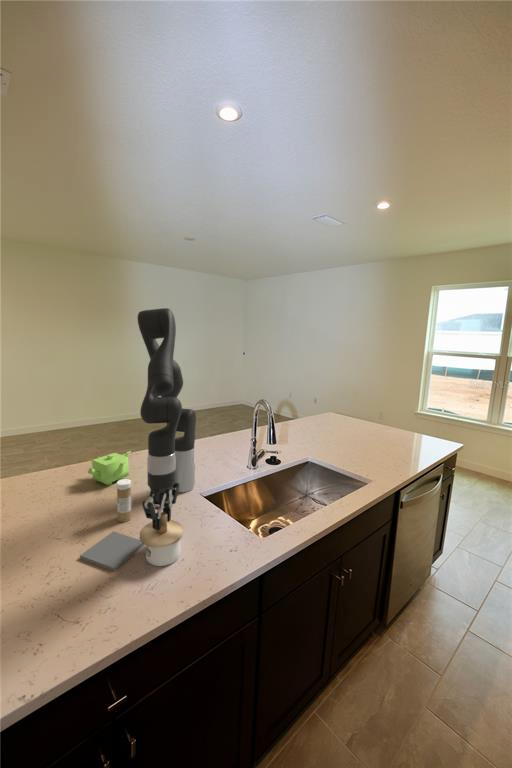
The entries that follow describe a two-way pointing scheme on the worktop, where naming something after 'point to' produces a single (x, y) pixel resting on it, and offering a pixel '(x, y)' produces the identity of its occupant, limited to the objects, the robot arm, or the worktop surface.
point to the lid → (161, 533)
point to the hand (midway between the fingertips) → (161, 524)
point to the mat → (112, 551)
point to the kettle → (110, 468)
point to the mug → (163, 554)
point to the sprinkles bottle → (124, 500)
